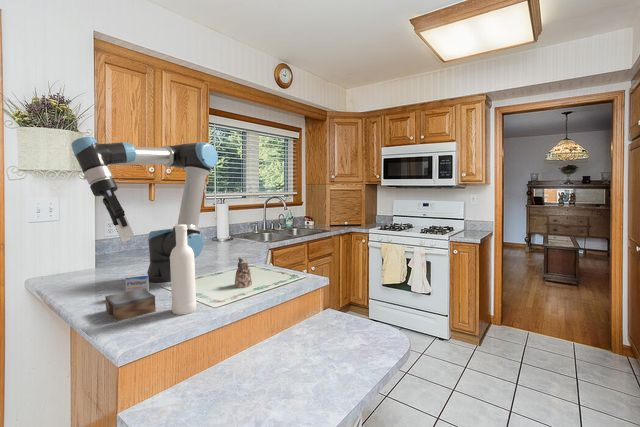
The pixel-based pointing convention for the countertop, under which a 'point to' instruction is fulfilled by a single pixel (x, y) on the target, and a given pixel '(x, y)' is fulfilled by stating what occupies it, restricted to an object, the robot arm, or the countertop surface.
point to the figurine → (243, 274)
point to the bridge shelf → (130, 304)
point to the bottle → (182, 274)
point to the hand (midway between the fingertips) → (128, 238)
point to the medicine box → (137, 282)
